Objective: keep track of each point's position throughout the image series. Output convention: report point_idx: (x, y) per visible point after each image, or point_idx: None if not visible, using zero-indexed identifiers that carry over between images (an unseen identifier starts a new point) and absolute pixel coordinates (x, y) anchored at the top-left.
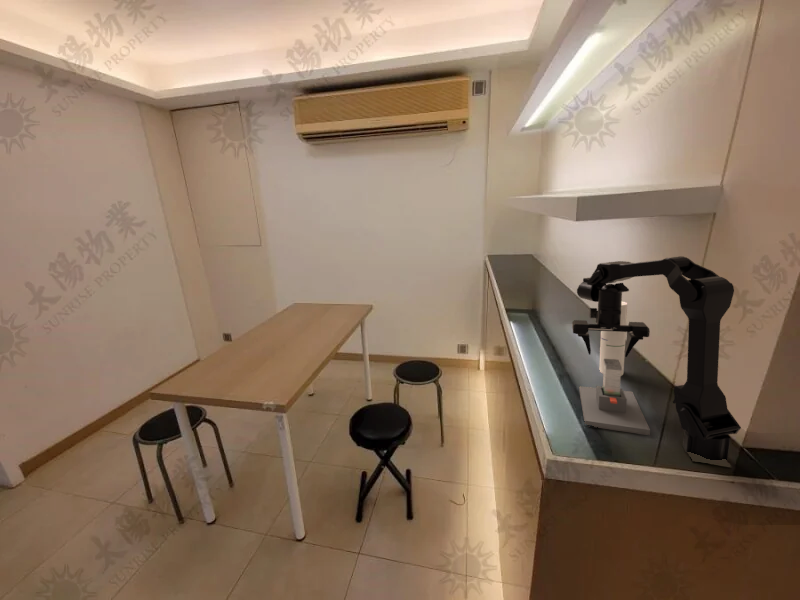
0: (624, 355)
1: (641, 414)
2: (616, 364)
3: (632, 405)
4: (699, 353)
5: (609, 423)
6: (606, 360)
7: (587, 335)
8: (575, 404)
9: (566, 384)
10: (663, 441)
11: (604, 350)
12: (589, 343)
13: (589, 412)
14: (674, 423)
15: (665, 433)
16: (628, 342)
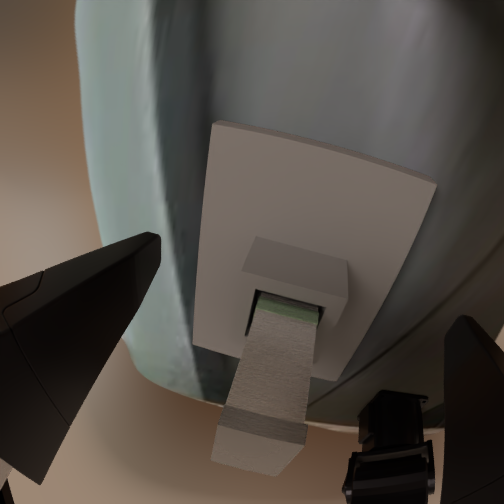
0: (459, 320)
1: (362, 332)
2: (262, 466)
3: (369, 287)
4: None
5: None
6: (227, 438)
7: (26, 475)
8: (186, 234)
9: (176, 63)
10: (351, 382)
11: None
12: (81, 397)
13: (209, 316)
14: (433, 332)
15: (378, 364)
16: (459, 495)
